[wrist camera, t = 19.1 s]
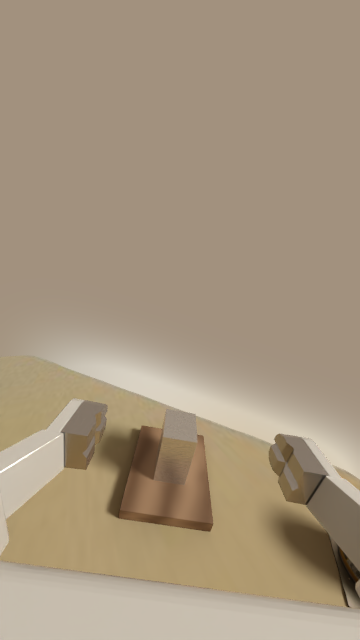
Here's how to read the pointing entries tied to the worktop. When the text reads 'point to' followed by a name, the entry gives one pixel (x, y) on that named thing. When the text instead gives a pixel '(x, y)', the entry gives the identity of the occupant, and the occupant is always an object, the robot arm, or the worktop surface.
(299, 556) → the worktop surface
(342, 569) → the condiment
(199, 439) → the wooden base with peg
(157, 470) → the tall wooden block
